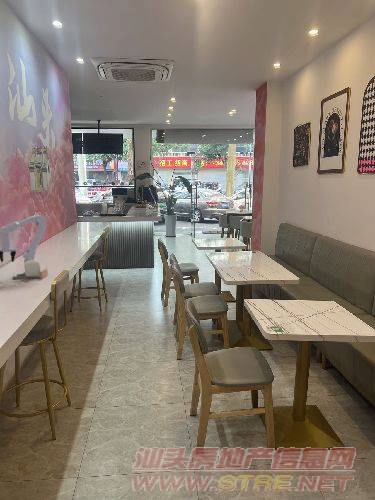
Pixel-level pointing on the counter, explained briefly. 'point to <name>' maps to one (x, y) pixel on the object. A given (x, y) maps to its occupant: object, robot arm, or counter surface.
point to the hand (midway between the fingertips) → (7, 261)
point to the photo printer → (32, 268)
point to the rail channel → (42, 275)
